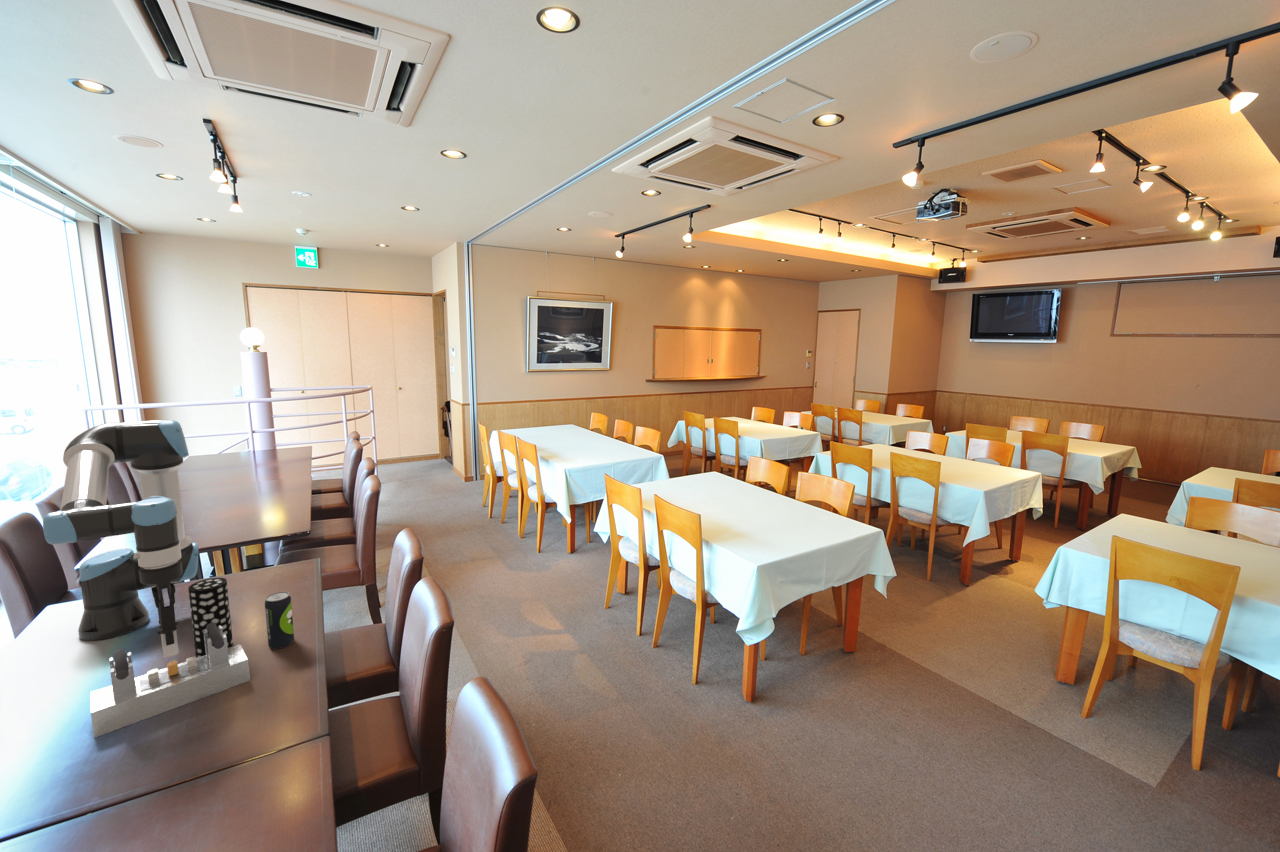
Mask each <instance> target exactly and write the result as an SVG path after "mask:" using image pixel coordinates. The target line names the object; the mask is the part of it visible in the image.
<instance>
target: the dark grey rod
mask: <svg viewBox="0 0 1280 852" xmlns="http://www.w3.org/2000/svg"><path fill="white" fill-rule="evenodd" d="M206 629H207V631H208V633H209V636H210V638H211V641H212V643H213V645H214V647H215V648H216V649H220V648H222V647H223V646H224V641H223V639H222V637H221V635H220V632H219V630H218V628H217V626H216V624H215V623H209V624H208V625H207V626H206Z"/></svg>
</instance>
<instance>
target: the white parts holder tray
mask: <svg viewBox="0 0 1280 852" xmlns="http://www.w3.org/2000/svg"><path fill="white" fill-rule="evenodd" d="M218 630H219V632H220V635H221V637H222V639H223V641H224V646H223V647H222V648H220V649H216V648H215V647H214V645H213V643H212V641H211V638H210V636H209V634H208V633H207V630H204V631H203V632H204V641H205V651H206V655H205V656H202V657H196V655H193V656H191V657H187V658H185V661H184V662H180V663H178V672H179V673H178V674H175V675H172V676H169V675H168V669H167V667H165V668H161V669H158V667H156V668H152V669H151V670H150V669H149V670H147V673H145V674H143V675H140V676H137V677H135V670H134V665H133V664H134V663H133V657H132V652H131V651H129V652H126V655H127V664H128V671H129V674H128V676H127V677H126V678H125V679H122V680H119V679H117V678H116V670H115V660H114V656H113V657H112V656H111V657H109V659H108V661H109V667H110V668H109V669H110V671H109V672H110V678H111V679H110V680H111V685H108V686H106V687H101V688H99V689H95V690H92V691H90V694H89V695H90V716H91V723H92V730H93V737H94V738H97V737H100V736H102V735H105V734H108V733H110V732H114V731H116V730H119V729H122V728H125V727H127V726H129V725H130V726H131V725H133V724H136V723H137V722H141V721H144V720H146V719H149V718H152V717H154V716H156V715H160V714H162V713H166V712H168V711H171V710H174V709H176V708H179V707H181V706H184V705H187V704H190V703H193V702H195V701H199V700H202V699H203V698H207V697H209V696H212V695H214V694H218V693H220V692H223V691H226V690H228V689H231V688H233V687H236V686H239V685H241V684H242V685H243V684H245V683H247V682H250V681H251V675H250V667H249V658H248V657H247V655H246V652H245V651H244V649H243V647H242V645H241V644H240V643H239V644H236V645H233V647H230V648H228V646H227V637H226V635H225V634H224V635H223V630H222V626H218Z"/></svg>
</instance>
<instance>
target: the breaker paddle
mask: <svg viewBox="0 0 1280 852" xmlns="http://www.w3.org/2000/svg"><path fill="white" fill-rule="evenodd" d="M178 664H179V663H178V661H177V660H175V659H174V660H172V661H169V662H166V668H167V669H168V675H169V676H172V675H175V674H178V673H179V672H178Z"/></svg>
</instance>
